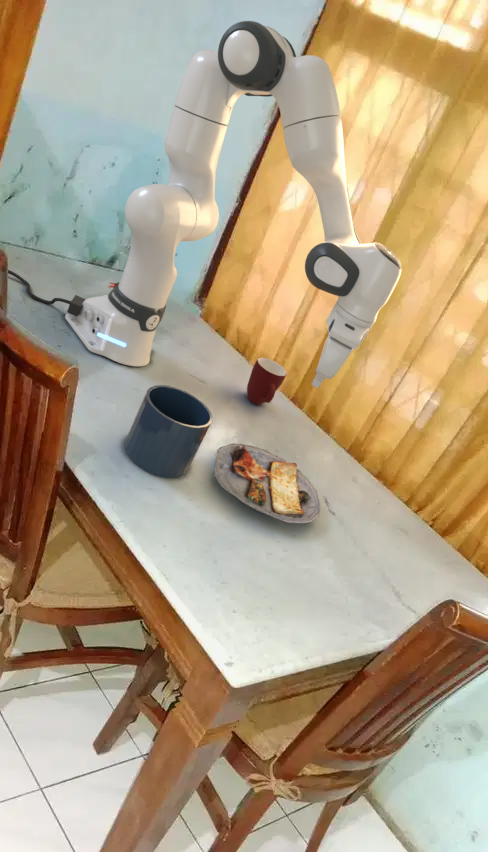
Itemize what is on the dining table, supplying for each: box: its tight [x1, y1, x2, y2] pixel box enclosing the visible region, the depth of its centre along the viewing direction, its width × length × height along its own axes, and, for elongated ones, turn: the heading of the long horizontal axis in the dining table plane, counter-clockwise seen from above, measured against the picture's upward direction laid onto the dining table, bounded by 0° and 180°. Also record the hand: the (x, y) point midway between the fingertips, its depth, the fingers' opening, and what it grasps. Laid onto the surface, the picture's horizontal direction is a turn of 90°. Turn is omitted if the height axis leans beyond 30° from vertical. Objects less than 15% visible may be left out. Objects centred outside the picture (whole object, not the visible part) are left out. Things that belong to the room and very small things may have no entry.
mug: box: [246, 356, 288, 406], centre depth 177 cm, size 10×8×10 cm
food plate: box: [213, 442, 321, 524], centre depth 147 cm, size 25×23×4 cm
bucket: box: [123, 384, 214, 479], centre depth 137 cm, size 13×13×12 cm
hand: (316, 379), depth 155 cm, fingers open, 6 cm apart
